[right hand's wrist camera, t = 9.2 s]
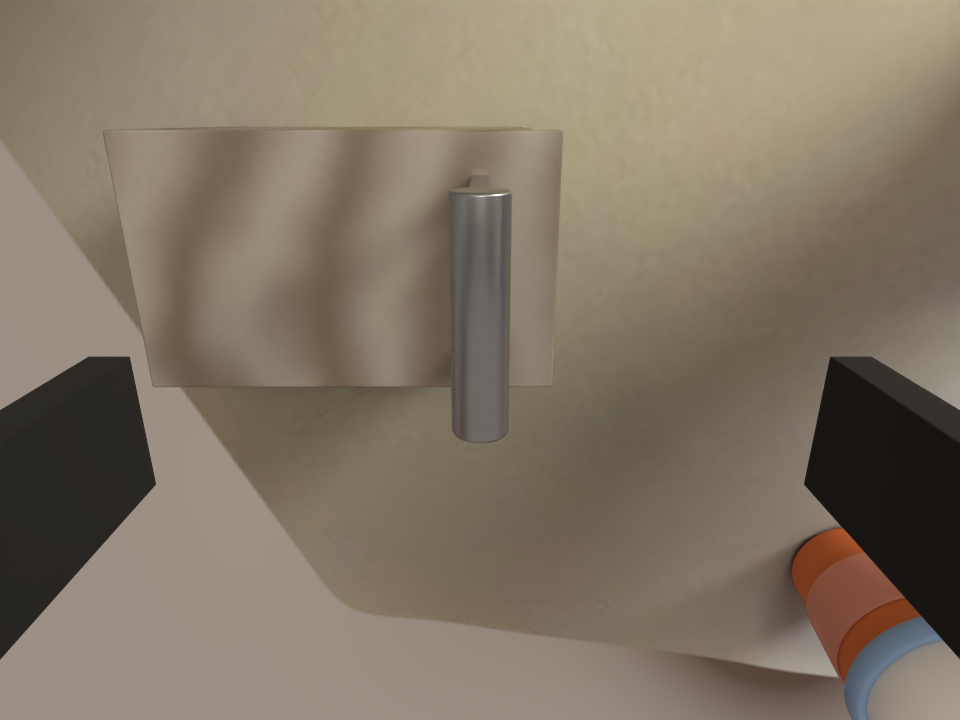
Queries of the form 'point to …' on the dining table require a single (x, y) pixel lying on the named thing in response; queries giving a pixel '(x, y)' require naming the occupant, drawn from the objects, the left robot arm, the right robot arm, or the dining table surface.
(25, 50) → the dining table surface
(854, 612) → the cup with straw
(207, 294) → the lid
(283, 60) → the dining table surface
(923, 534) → the right robot arm
